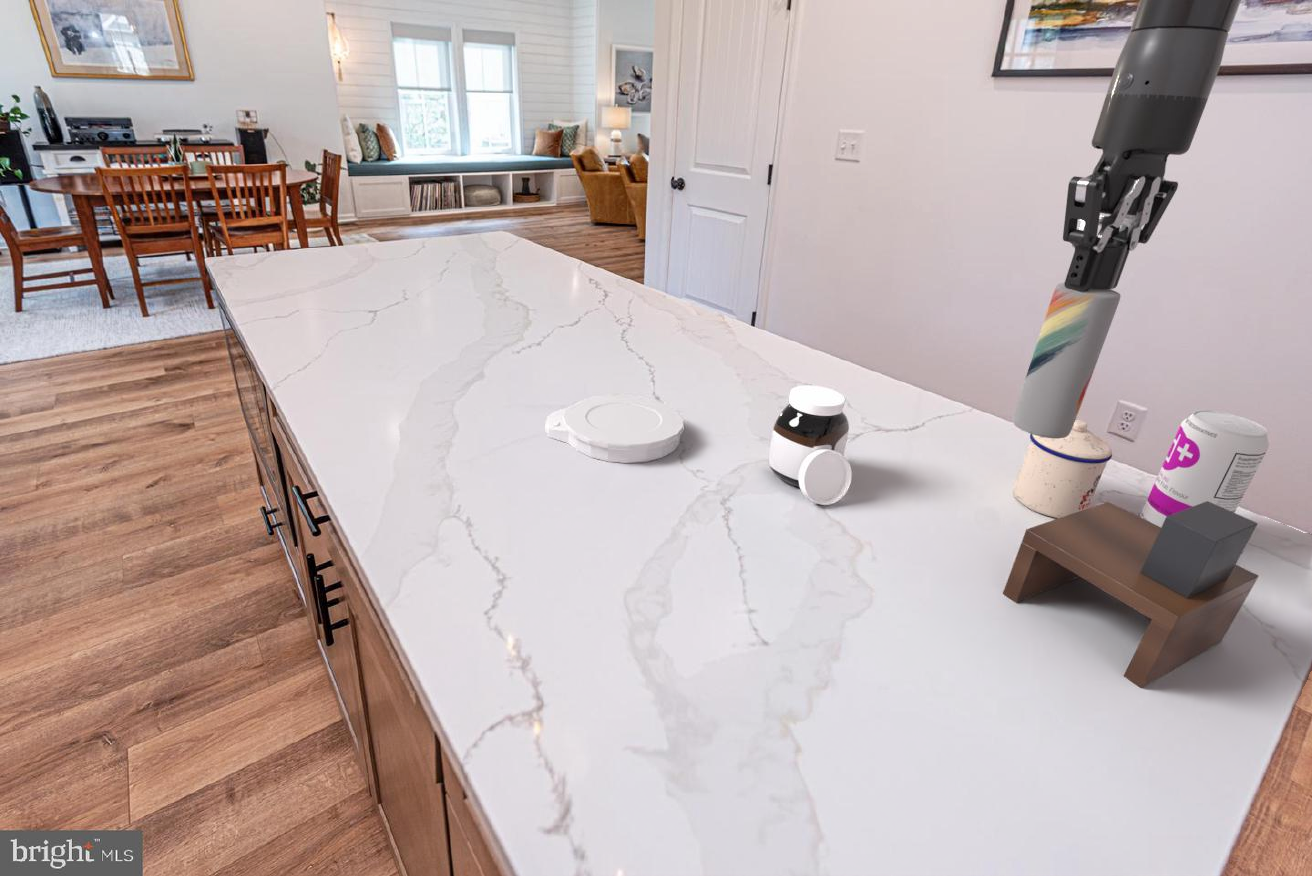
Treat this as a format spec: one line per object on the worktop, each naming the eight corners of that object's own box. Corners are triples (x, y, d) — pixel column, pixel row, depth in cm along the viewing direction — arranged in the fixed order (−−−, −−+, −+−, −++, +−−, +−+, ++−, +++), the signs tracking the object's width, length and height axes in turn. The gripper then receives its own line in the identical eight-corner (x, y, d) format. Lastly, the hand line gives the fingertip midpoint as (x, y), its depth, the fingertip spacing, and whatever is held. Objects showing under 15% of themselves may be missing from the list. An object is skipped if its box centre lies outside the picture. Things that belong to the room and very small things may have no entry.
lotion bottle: (1064, 423, 75) (1131, 237, 66) (1074, 444, 70) (1149, 246, 61) (1008, 413, 76) (1067, 230, 68) (1014, 433, 71) (1079, 238, 63)
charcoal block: (1180, 554, 64) (1207, 500, 62) (1228, 578, 61) (1258, 523, 59) (1139, 572, 61) (1166, 516, 59) (1187, 599, 58) (1217, 541, 56)
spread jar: (800, 454, 96) (814, 377, 91) (871, 486, 89) (891, 405, 84) (747, 480, 88) (759, 397, 83) (821, 517, 81) (839, 429, 76)
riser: (1082, 561, 77) (1108, 501, 73) (1221, 642, 66) (1259, 575, 62) (1002, 593, 70) (1026, 529, 67) (1141, 688, 59) (1178, 617, 56)
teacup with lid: (1092, 529, 83) (1128, 444, 78) (1011, 509, 86) (1040, 426, 81) (1080, 486, 93) (1111, 409, 88) (1008, 470, 96) (1034, 394, 91)
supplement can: (1146, 540, 82) (1198, 427, 75) (1131, 508, 89) (1178, 402, 82) (1226, 558, 79) (1287, 444, 73) (1204, 524, 86) (1258, 416, 80)
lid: (566, 402, 107) (566, 385, 105) (691, 421, 104) (693, 403, 102) (525, 450, 91) (525, 430, 90) (670, 473, 88) (672, 453, 87)
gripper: (1157, 87, 53) (1083, 303, 60) (1246, 99, 59) (1168, 293, 67) (1066, 86, 59) (1009, 283, 66) (1156, 97, 65) (1094, 276, 73)
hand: (1089, 287), depth 67 cm, fingers closed on lotion bottle, 4 cm apart
